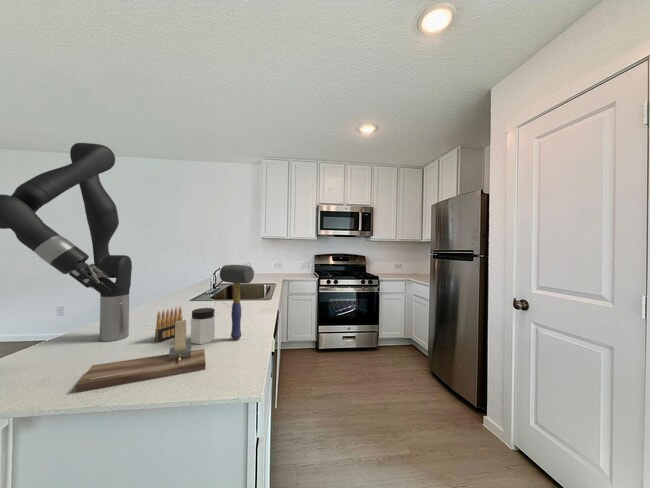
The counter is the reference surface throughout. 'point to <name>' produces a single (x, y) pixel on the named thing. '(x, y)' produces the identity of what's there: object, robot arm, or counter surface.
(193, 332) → the jar
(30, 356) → the counter surface
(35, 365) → the counter surface
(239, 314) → the rubber mallet
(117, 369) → the walnut board
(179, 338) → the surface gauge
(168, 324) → the ammunition clip
